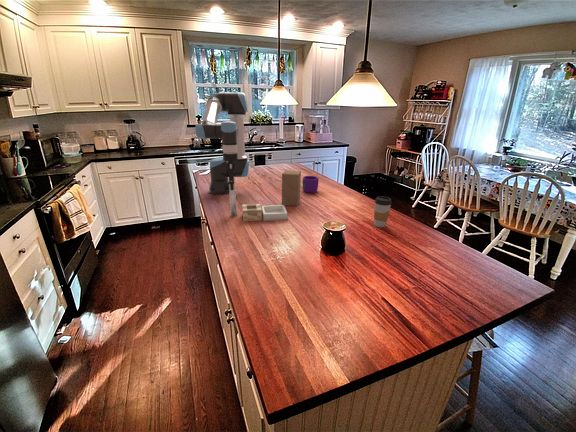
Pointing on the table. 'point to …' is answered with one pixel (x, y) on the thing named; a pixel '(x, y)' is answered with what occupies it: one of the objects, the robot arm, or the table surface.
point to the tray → (274, 213)
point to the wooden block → (291, 187)
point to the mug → (310, 184)
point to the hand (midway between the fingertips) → (232, 191)
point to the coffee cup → (381, 211)
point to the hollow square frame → (251, 212)
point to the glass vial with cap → (233, 205)
